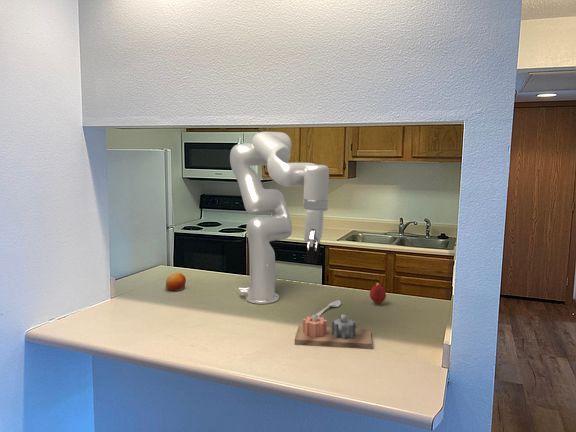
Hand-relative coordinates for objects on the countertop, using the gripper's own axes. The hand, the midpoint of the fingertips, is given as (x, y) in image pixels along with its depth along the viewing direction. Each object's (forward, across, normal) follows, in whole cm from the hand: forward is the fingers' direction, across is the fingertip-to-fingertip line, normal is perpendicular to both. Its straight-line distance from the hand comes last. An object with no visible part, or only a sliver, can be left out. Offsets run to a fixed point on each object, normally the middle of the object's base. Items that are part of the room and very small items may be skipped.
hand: (313, 258), depth 142 cm
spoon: (+23, -13, +3) cm, 27 cm away
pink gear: (+20, +10, +2) cm, 23 cm away
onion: (+22, -24, +22) cm, 39 cm away
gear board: (+21, +10, +8) cm, 25 cm away
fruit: (+25, -29, -58) cm, 69 cm away
